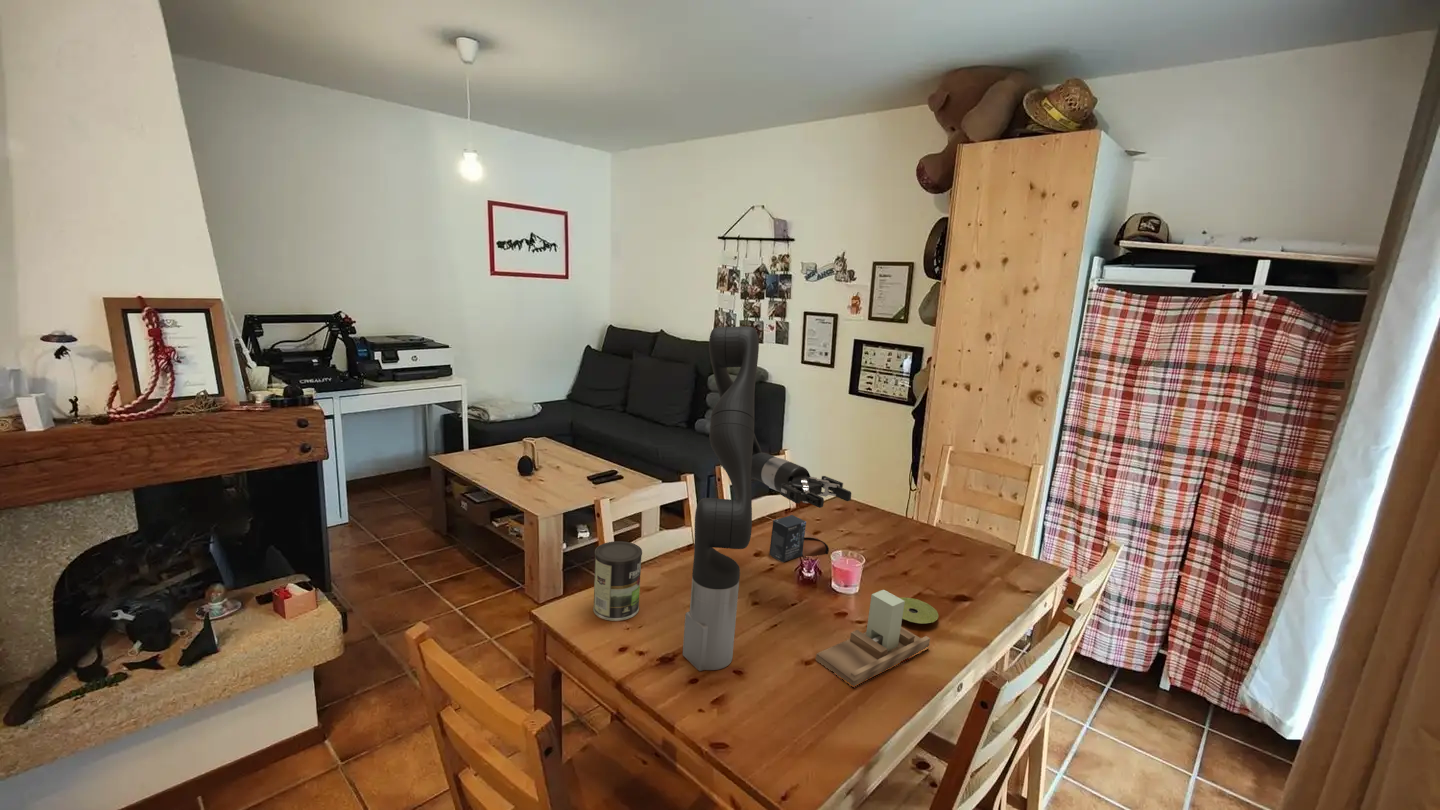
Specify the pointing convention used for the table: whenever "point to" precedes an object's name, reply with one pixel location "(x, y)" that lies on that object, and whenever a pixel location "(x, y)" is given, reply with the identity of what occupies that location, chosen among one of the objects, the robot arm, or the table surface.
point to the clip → (885, 618)
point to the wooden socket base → (868, 655)
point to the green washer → (918, 611)
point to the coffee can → (617, 580)
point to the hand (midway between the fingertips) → (836, 500)
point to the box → (787, 538)
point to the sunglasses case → (813, 546)
